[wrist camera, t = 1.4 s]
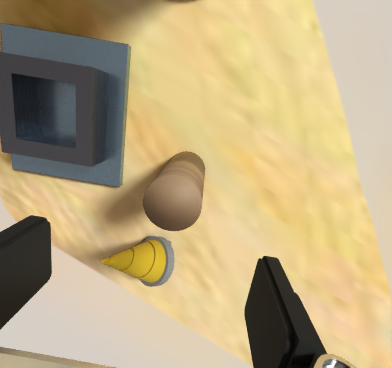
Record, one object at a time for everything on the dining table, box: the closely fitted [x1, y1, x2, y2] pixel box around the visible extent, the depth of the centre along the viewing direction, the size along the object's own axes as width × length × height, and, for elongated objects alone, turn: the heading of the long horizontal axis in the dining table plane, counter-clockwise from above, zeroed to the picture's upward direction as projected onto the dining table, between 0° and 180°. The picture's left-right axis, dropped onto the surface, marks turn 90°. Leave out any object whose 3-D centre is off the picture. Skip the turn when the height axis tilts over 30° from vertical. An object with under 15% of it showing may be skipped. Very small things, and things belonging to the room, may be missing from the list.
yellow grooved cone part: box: [100, 236, 174, 287], centre depth 25 cm, size 5×5×10 cm
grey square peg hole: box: [0, 23, 131, 187], centre depth 22 cm, size 14×12×4 cm
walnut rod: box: [143, 152, 205, 231], centre depth 20 cm, size 4×4×10 cm
